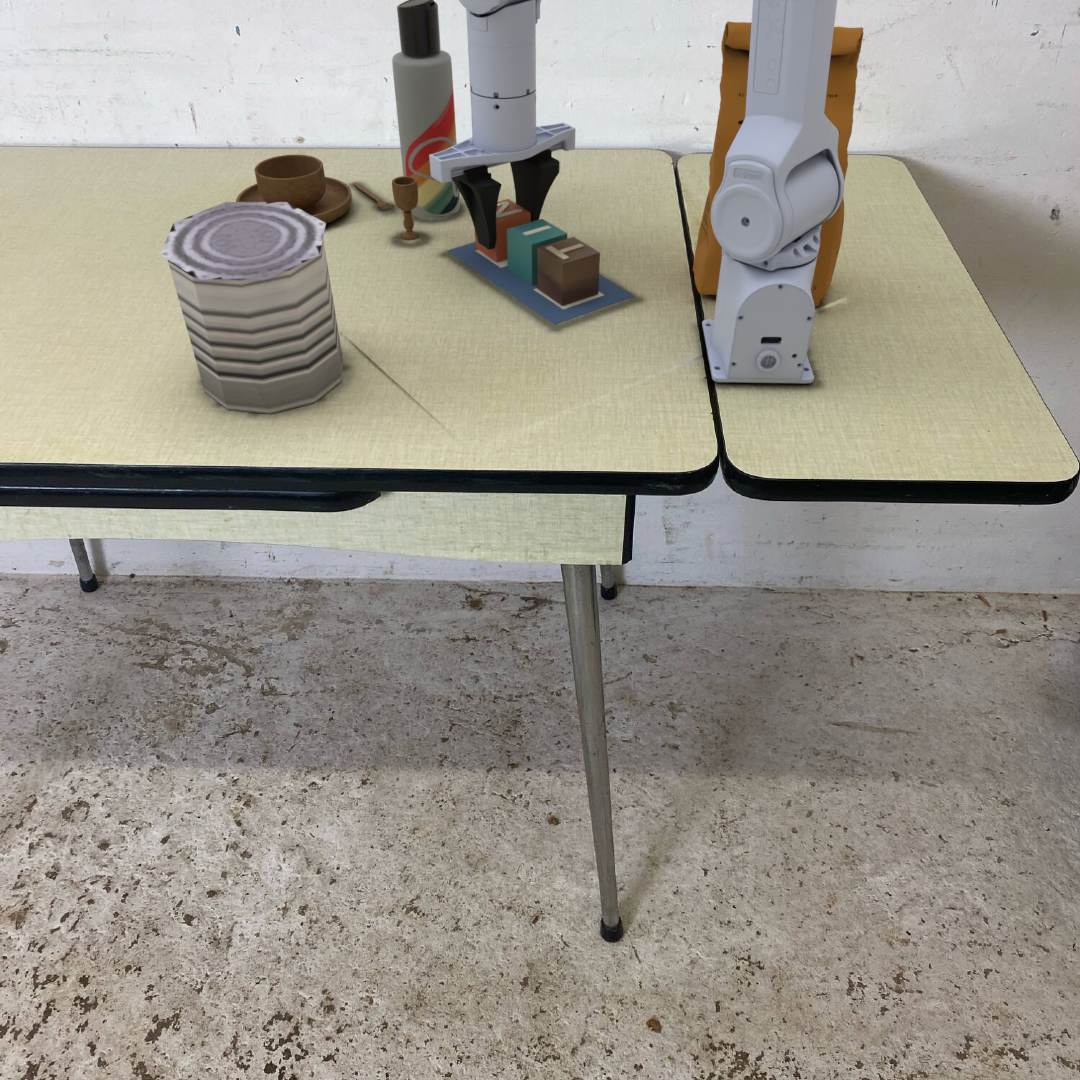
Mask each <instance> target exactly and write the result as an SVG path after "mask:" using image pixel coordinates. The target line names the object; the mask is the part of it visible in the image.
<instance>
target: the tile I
mask: <svg viewBox="0 0 1080 1080" xmlns="http://www.w3.org/2000/svg"><path fill="white" fill-rule="evenodd" d="M565 239H568V232H566V231H564V230H563V229H560V228H559V227H557V226H555V225H554V224H552V223H551V222H549V221H547V220H545V219H544V218H539V220H536V221H533V222H530V223H526V224H523V225H519V226H516V227H512V228H509V229H507V253H508V270H509V271H511V272H512V273H514V274H515V275H517V276H518V277H520V278H521V279H523V280H524V281H526V282H527V283H529V284H530V285H535V284H537V248H538V247H541V246H544V245H548V244H551V243H554V242H558V241H561V240H565Z"/></svg>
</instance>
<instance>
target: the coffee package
mask: <svg viewBox="0 0 1080 1080" xmlns="http://www.w3.org/2000/svg"><path fill="white" fill-rule="evenodd" d="M751 23H752V22H748V21H747V22H745V21H743V22H742V21H740V22H737V21H729V20H728V21H727V22H725V25H724V30H723V34H722V39H721V45H720V46H721V47H720V49H721V57H722V63H721V75H720V82H719V95H720V102H719V110H718V116H717V121H716V128H715V129H716V130H715V136H714V140H713V141H714V142H713V148H712V153H711V155H710V160H709V163H708V165H709V175H708V176H709V177H708V178H709V179H708V181H709V189H708V193H707V195H706V200H705V204H704V209H703V212H702V218H701V220H700V221H701V222H700V224H699V225H700V226H699V229H698V234H697V241H696V246H695V253H694V257H693V258H694V259H693V265H692V272H693V275H694V278H693V279H694V284H695V287H696V290H697V292H698V294H700V295H702V296H708V295H711V296H717V290H718V283H719V275H720V268H721V260H722V254H721V253H722V247H721V245H720V244H719V242H718V241H717V239H716V237H715V234H714V232H713V228H712V224H711V207H712V202H713V199H714V196H715V195H716V193H717V191H718V189H719V188H720V186H721V183H722V181H723V177H724V170H725V158H726V155H727V153H728V151H729V149H730V147H731V145H732V143H733V141H734V139H735V137H736V135H737V133H738V131H739V130H740V128H741V126H742V124H743V121H744V119H745V112H746V97H747V82H748V68H749V53H750V38H751ZM863 39H864V27H862V26H861V27H848V26H847V27H845V26H834V32H833V40H832V49H831V57H830V66H829V75H828V83H827V92H826V100H825V109H824V114H825V116H826V117H827V118H828V119H829V120H830V122H831V123H832V124H833V125H834V126H835V127H836V128H837V130H838V131H839V139H838V150H837V151H838V159H839V164H840V167H841V170H842V173H843V177H844V183H845V182H846V177H847V176H846V175H847V171H848V165H849V157H848V155H849V154H848V147H849V144H850V139H851V136H852V131H853V124H854V107H855V103H856V102H855V101H856V93H857V78H858V72H859V71H858V62H859V60H860V54H861V50H862V43H863ZM844 222H845V199H844V197H843V198H842V201H841V204H840V206H839V208H838V209H837V211H836V212H835V213H834V215H833V216H832V217H830V218H829V219H828V220H826V221H825V222H823V223H821V224H822V227H821V232H820V248H819V252H818V256H817V261H816V266H815V271H814V276H813V281H812V286H811V294H812V298H813V301H814V306H815V308H817V307H819V306H820V302H821V300H822V299H823V298H824V297H825V296H826V294H827V293H828V291H829V289H830V288H831V283H832V281H833V277H834V274H835V270H836V266H837V261H838V258H839V253H840V249H841V244H842V238H843V237H842V236H843V229H844Z"/></svg>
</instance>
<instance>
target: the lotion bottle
mask: <svg viewBox="0 0 1080 1080" xmlns="http://www.w3.org/2000/svg"><path fill="white" fill-rule="evenodd" d="M438 5H439V4H438V3H437V2H436V1H435V0H405V1H403V2H401V3H399V4H398V5H397V6H396V12H397V13H396V14H397V22H398V32H399V33H398V35H399V42H400V51H399V52H397V53H395V54H394V55H393V56H392V59H391V63H392V64H391V65H392V75H393V87H394V96H395V105H396V106H395V107H396V115H397V116H396V117H397V126H398V127H397V128H398V136H399V145H400V146H399V147H400V154H401V166H402V176H410V177H414V178H416V179H417V185H418V204H417V206H416V207H415V208H414V209H413V210H411V211H412V216H414V217H418V218H424V219H440V218H446V217H449V216H452V215H454V214H456V213H458V211H459V210H460V208H461V196H460V195H461V193H460V192H459V190H458V188H457V186H456V185H455V183H454V181H453V180H451V181H449V182H445V183H441V182H439V181H437V180H436V179H434V178H433V177H431V172H430V159H429V155H430V154H434V153H437V152H440V151H443V150H446V149H448V148H450V147H452V146H454V145H456V144H458V141H457V127H456V126H457V125H456V112H455V111H456V110H455V95H454V94H455V93H454V80H453V78H454V77H453V65H452V64H453V63H452V57H451V54H450V53H449V52H448V51H445V50H442V49H441V33H440V32H441V31H440V19H439V18H440V15H439V6H438ZM451 179H452V178H451Z"/></svg>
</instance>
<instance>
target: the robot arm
mask: <svg viewBox="0 0 1080 1080" xmlns="http://www.w3.org/2000/svg"><path fill="white" fill-rule="evenodd" d="M458 2H459V3H460V4H461V5H462V7H464V8H465V11H466V13H465V14H466V31H467V33H466V34H467V51H468V53H467V54H468V70H469V71H468V73H469V94H470V95H469V96H470V113H471V114H470V117H471V129H472V130H471V133H472V134H471V136H472V137H468V139H465V140H462V141H460V142H459V143H457V144H456V145H454V146H452V147H450V148H448V149H446V150H443V151H440V152H437V153H434V154H430V155H429V159H430V172H431V177H433V178H434V179H436V180H437V181H439V182H441V183H445V182H449V181H451V180H453V181H454V183H455V185H456V186H457V188H458V190H459V192H460V195H461V197H462V199H463V200H464V201H463V202H464V204H465V207H466V208H467V210H468V213H469V215H470V217H471V221H472V224H473V227H474V228H475V229H474V232H475V231H476V235H477V239H478V243H479V244H481V245H482V246H484V247H486V248H487V249H494V248H495V244H496V239H497V235H496V211H497V203H498V202H499V197H500V192H501V189H502V183H500V182H499V181H497V180H496V179H494V178H492V173H491V172H489V169H491V168H494V167H498V166H503V165H505V164H510V169H511V174H512V179H513V187H514V194H515V203H516V204H518V205H519V206H521V207H522V208H524V209H526V210H527V211H529V212H531V222H533V221H536V220H540V216H541V213H542V209H543V207H544V203H545V201H546V199H547V195H548V193H549V191H550V189H551V187H552V185H553V183H554V182H555V180H556V178H557V177H558V175H559V174H560V167H561V166H560V163H561V162H560V160H559V159H557V158H554V157H553V156H552V153H554V152H556V151H557V152H558V151H560V150H563V151H564V152H569V151H573V150H575V149H576V127H574V126H571V125H570V124H567V123H565V122H560V123H554V124H545V125H537V38H536V37H537V36H536V35H537V34H536V33H537V27H536V26H537V24H538V20H539V19H541V3H542V0H458ZM837 5H838V0H752V7H751V8H752V9H751V10H752V12H751V22H750V23H751V38H750V53H749V68H748V82H747V97H746V112H745V119H744V121H743V124H742V126H741V128H740V130H739V131H738V133H737V135H736V137H735V139H734V141H733V143H732V145H731V147H730V149H729V151H728V153H727V155H726V158H725V170H724V177H723V181H722V183H721V186H720V188H719V189H718V191H717V193H716V195H715V196H714V199H713V202H712V207H711V224H712V228H713V232H714V234H715V237H716V239H717V241H718V242H719V244H720V245H721V247H722V253H721V254H722V260H721V268H720V275H719V283H718V290H717V295H716V299H715V305H714V314H713V319H712V318H711V319H708V318H707V319H703V320H702V321H701V327H702V332H703V337H704V342H705V347H706V354H707V360H708V363H709V364H708V365H709V370H710V375H711V379H712V380H713V382H715V383H741V384H742V383H749V384H751V383H753V384H812V383H814V381H815V374H814V372H813V369H812V366H811V362H810V361H809V357H808V350H809V346H810V342H811V336H812V331H813V327H814V321H815V317H816V307H815V306H814V301H813V298H812V294H811V286H812V281H813V276H814V271H815V266H816V261H817V256H818V252H819V248H820V232H821V227H822V224H821V223H823V222H825V221H826V220H828V219H829V218H830V217H832V216H833V215H834V213H835V212H836V211H837V209H838V208H839V206H840V204H841V201H842V198H843V199H844V194H845V182H844V177H843V173H842V170H841V167H840V164H839V159H838V151H837V150H838V139H839V131H838V130H837V128H836V127H835V126H834V125H833V124H832V123H831V122H830V120H829V119H828V118H827V117H826V116H825V114H824V109H825V100H826V92H827V83H828V75H829V66H830V57H831V49H832V40H833V32H834V27H835V22H836V14H837ZM451 178H452V179H451Z"/></svg>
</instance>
